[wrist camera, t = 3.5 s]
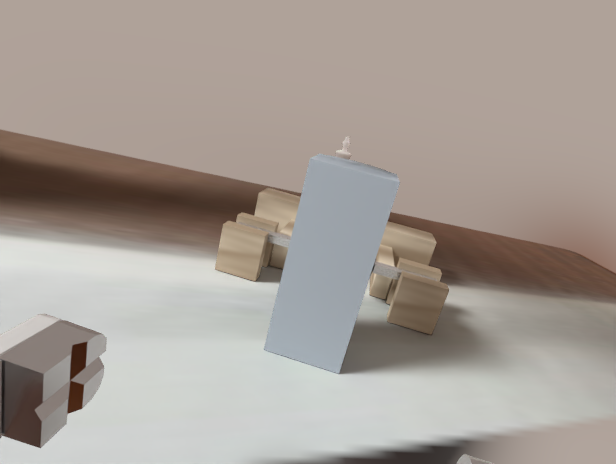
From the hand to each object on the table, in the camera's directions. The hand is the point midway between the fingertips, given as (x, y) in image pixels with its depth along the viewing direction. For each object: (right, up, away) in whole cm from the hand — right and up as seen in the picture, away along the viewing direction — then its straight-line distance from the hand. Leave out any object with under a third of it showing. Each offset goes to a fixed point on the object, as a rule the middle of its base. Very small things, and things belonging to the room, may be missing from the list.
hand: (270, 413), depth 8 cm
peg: (+1, -2, +13) cm, 13 cm away
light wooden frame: (+3, +1, +23) cm, 23 cm away
